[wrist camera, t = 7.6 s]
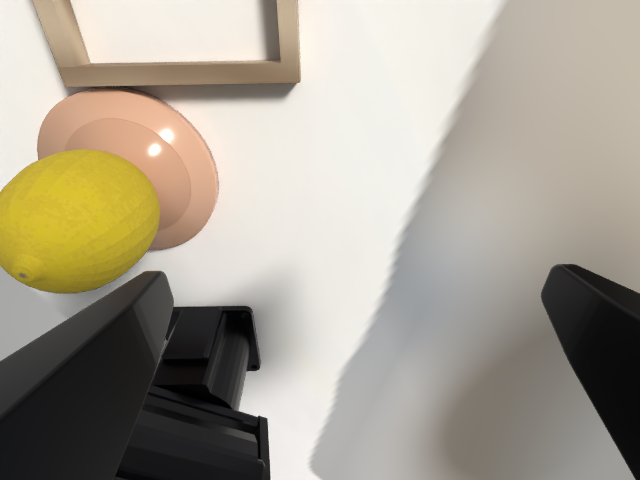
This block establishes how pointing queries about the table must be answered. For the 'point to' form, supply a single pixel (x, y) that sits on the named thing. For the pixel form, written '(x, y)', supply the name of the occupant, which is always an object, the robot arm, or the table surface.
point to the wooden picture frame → (80, 72)
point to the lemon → (76, 221)
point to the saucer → (142, 151)
